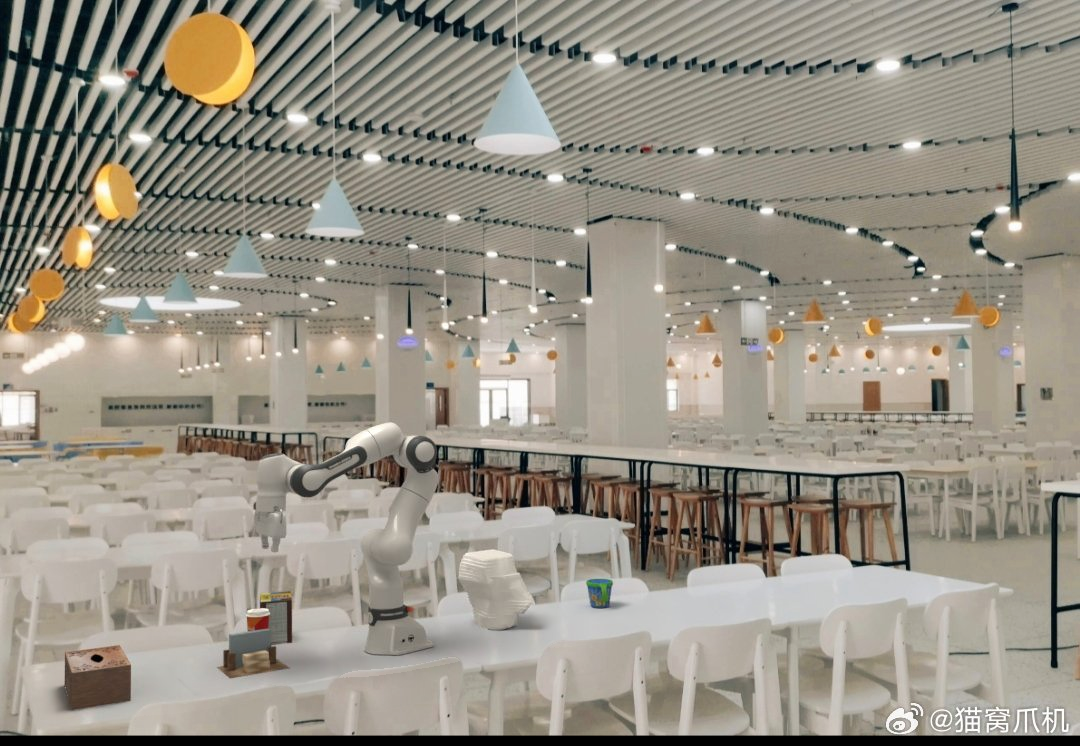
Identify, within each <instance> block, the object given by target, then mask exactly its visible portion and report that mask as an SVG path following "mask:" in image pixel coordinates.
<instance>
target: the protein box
mask: <svg viewBox="0 0 1080 746" xmlns="http://www.w3.org/2000/svg"><path fill="white" fill-rule="evenodd" d="M260 608H265V609H269V612H270V615H269V628H268V629H270V643H271V646H276V645H284V644H293V597H292V593H291V591H288V590H287V591H278V592H276V591H275V592H263V593H262V592H261V593H259V609H260Z"/></svg>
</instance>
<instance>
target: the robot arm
mask: <svg viewBox="0 0 1080 746" xmlns="http://www.w3.org/2000/svg"><path fill="white" fill-rule="evenodd" d="M344 447H345V449H343V451H342V452H340V453H339V454H337V455H335V456H333V457H331V458H329V459H326V460H325V461H323V462H321V463H316V464H304V463H301V462H298V461H296V460H294V459H292V458H290V457H288V456H287V455H285V454H284V453H283V452H282V453H281V452H278V453H272V454H271V453H269V454H266V455H264V456H262V457H261V458H260V459H259V460H258V461H259V462H258V467H257V474H256V483H257V493H256V500H255V501H254V503H253V504H252V510H253V511H254V529H255V530H254V531H255V532H256V533H257V534H260V541H261V548H262V549H264V550H268V549H269V548H271V549H270V550H271V552H272V553H278V552H279V547H280V544H281V539H286V536H287V517H286V513H284V512H286V510H287V506H286V505H287V493H292V494H295V495H297V496H300V497H302V498H313V497H316V496H318V495H319V493H321V492H322V491H323V490H324V489H325V488H326V486H328V484H329V483H331V482H332V481H334V480H336V479H338V478H340V477H341V476H343V475H345V474H347V473H349V472H351V471H353V470H355V469H358V468H361V467H366V466H368V465H371V464H374V463H376V462H378V461H381V460H382V459H384V458H386V457H390V459H391V460H392V461H393V463H394V464H395V465H397V466H398V467H401V468H404V469H406V471H407V472H406V477H405V480H404V481H403V483H402V485H401V486H400V489H399V490H398V492H397V493H396V496H395V497H394V499H393V501H392V502H391V504H390V506H389V508H388V516H387V517H388V518H387V520H386V524H385V525H384V526H385V527H384V528H374V529H370V530H369V531H367V532H365V534H364V535H363V536H362V538H361V541H360V549H361V552H362V554H363V557H364V561H365V566H366V567H365V568H366V572H367V579H368V587H369V588H368V589H369V591H368V592H369V596H368V598H369V605H368V607H367V608H368V609H367V621H368V622H367V623H368V633H367V640H366V644H365V648H364V651H365V652H366V653H368V654H372V655H389V656H390V655H392V656H402V655H404V654H409V653H412V652H417V651H420V650H421V651H422V650H425V649H428V648H433V647H434V642H433V641H432V640H430V639H429V638H428V637H427V633H426V629H425V627H424V626H423V625H422V624H421V623H420V622H418V621H417V620H416V619H414V618H413V617H411V616H410V615H409V614H412V613H414V611H415V608H414V607H413V606H411V605H406V604H404V580H403V578H402V576H401V573H400V569H399V567H400V566H402V565H405V564H406V563H408V561H410V559H411V558H412V555H413V551H414V548H413V541H414V538H415V535H416V531H417V528H418V525H419V523H420V521H421V519H423V518H422V517H423V516H424V513H425V511H426V510H427V508H428V506H429V504H430V503H431V501H432V498H433V497H434V495H435V493H436V490H437V487H438V484H439V481H440V477H439V473H438V472H437V471H436V470H435V466H436V460H437V456H438V455H437V454H438V450H437V445H436V443H435V442H434V441H433V439H431V438H430V437H428V436H425V435H409V436H408V435H405V434H403V432H402V429H401V428H400V426H399V425H398V424H397V423H394V422H392V421H391V422H383V423H381V424H377V425H373V426H372V427H369V428H366V429H364V430H362V431H359V432H358V433H357V434H354V435H353V436H352V437H351V438H349V439H348V440H347V441H346V443H345V446H344ZM269 538H271V541H272V543H271V544H272V545H271V546H270V543H269ZM269 546H270V547H269Z"/></svg>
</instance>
